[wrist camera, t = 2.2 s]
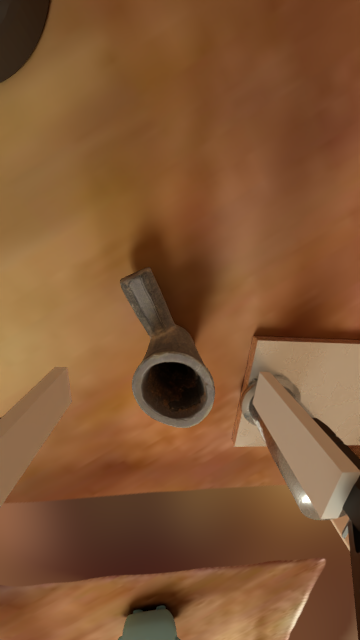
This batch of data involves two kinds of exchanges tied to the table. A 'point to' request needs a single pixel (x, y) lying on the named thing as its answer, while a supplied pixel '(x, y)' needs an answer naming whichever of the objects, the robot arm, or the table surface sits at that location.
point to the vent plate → (303, 394)
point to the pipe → (167, 360)
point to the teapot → (150, 625)
